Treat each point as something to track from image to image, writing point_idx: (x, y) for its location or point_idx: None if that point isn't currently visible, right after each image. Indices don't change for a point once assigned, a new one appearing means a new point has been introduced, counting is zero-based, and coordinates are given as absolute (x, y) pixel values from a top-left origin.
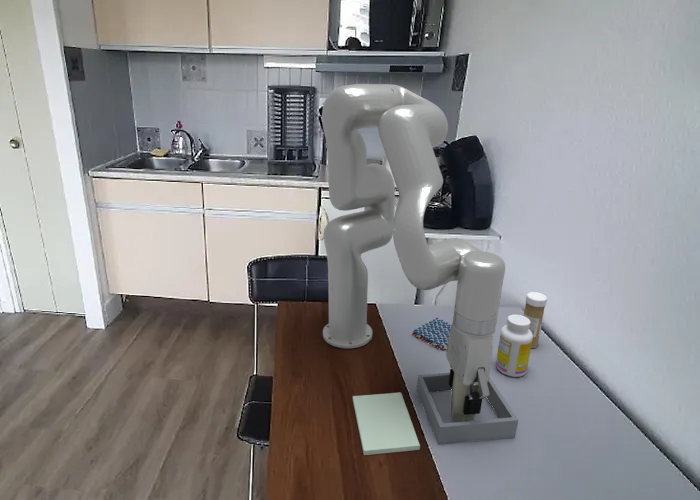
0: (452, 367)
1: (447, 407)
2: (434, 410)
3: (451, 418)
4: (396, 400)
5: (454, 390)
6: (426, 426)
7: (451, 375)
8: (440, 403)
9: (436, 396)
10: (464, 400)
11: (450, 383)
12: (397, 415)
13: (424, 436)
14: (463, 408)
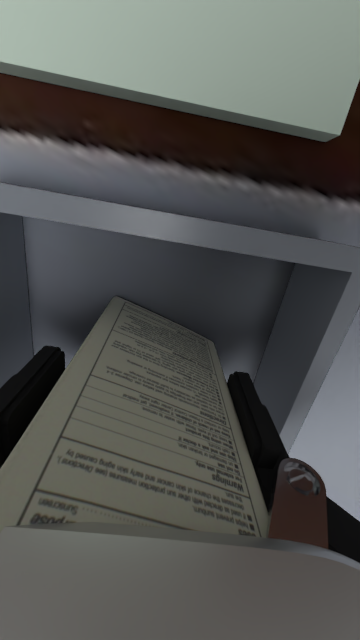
0: (145, 567)
1: (187, 315)
2: (59, 202)
3: (114, 298)
4: (297, 71)
5: (85, 381)
6: (109, 180)
7: (249, 421)
8: (214, 301)
9: (254, 304)
10: (19, 391)
11: (235, 383)
12: (183, 11)
13: (52, 139)
14: (45, 358)
